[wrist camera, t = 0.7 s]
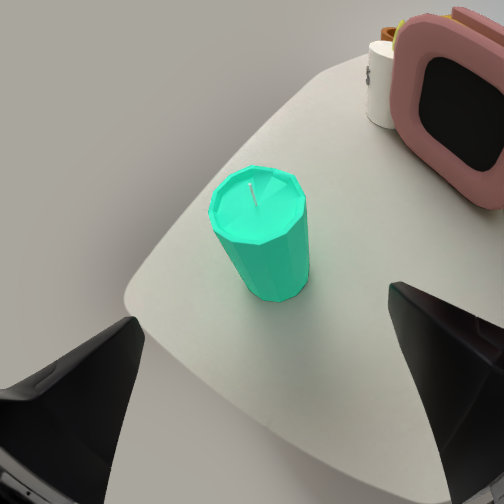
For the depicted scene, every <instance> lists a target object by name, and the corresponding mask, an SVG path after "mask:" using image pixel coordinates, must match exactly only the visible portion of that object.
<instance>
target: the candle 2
mask: <svg viewBox="0 0 504 504" xmlns="http://www.w3.org/2000/svg"><path fill="white" fill-rule="evenodd" d="M404 24H405V21H404V20H401V22H400V23H399V24H398V27H397V28H396V31H395V34H394V38H393V42H390V41H375V42H372V43H371V44H369V66H367V73H366V74H367V79H366V84H367V85H368V93H367V108H366V114H367V117H368V118H369V119H370V120H371V121H372V122H374V123H375V124H377V125H379V126H381V127H384V128H388V129H396V128H395V125H394V122H393V120H392V117H391V114H390V100H389V97H390V89H391V79H392V69H393V56H394V44H395V41H396V37H397V33H398V30H399V29H400V28H401V27H402V26H403V25H404Z"/></svg>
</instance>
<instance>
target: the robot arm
mask: <svg viewBox="0 0 504 504" xmlns="http://www.w3.org/2000/svg"><path fill="white" fill-rule="evenodd" d="M388 310H389V313H390V316H391V319H392V322H393V326H394V329H395V332H396V335H397V339H398V342H399V345H400V348H401V350H402V353H403V355H404V357H405V360H406V362H407V365H408V367H409V369H410V372H411V374H412V377H413V379H414V382H415V384H416V387H417V390H418V392H419V395H420V398H421V400H422V403H423V406H424V408H425V411H426V414H427V417H428V420H429V423H430V426H431V429H432V432H433V435H434V438H435V441H436V444H437V447H438V451H439V453H440V454H439V455H440V458H441V462H442V465H443V469H444V472H445V476H446V480H447V484H448V488H449V492H450V497H451V501H452V504H466V503H468V502H470V501H472V500H474V499H476V498H478V497H480V496H481V495H483V494H485V493H487V492H488V491H490V490H491V493H492V497H493V500H492V501H491V502H489V503H488V504H504V329H503V328H501V327H499V326H496V325H494V324H492V323H490V322H488V321H485V320H483V319H481V318H479V317H476V316H475V315H473V314H471V313H469V312H467V311H465V310H462V309H460V308H458V307H456V306H454V305H452V304H450V303H448V302H445V301H443V300H441V299H439V298H437V297H435V296H432V295H430V294H428V293H426V292H424V291H421V290H419V289H417V288H415V287H413V286H410V285H408V284H406V283H404V282H395V283H391V284H390V285H389V295H388ZM144 341H145V335H144V332H143V330H142V328H141V326H140V324H139V322H138V320H137V318H136V317H134V316H132V317H125V318H123V319H121V320H120V321H118V322H116V323H115V324H114V325H112V326H110V327H108V328H107V329H105V330H104V331H102V332H100V333H99V334H97V335H96V336H94V337H93V338H91V339H89V340H88V341H86V342H84V343H83V344H81V345H80V346H78V347H77V348H75V349H73V350H72V351H70V352H69V353H67V354H65V355H64V356H62V357H61V358H59V359H58V360H56V361H54V362H53V363H52V364H50V365H48V366H47V367H45V368H43V369H42V370H40V371H38V372H36V373H35V374H33V375H31V376H29V377H28V378H26V379H24V380H22V381H20V382H19V383H17V384H15V385H13V386H11V387H9V388H6V389H1V390H0V504H104V500H105V495H106V490H107V485H108V480H109V476H110V472H111V467H112V462H113V458H114V454H115V450H116V446H117V442H118V438H119V435H120V431H121V427H122V424H123V420H124V417H125V413H126V410H127V406H128V403H129V399H130V396H131V393H132V389H133V386H134V383H135V380H136V376H137V373H138V369H139V364H140V359H141V355H142V350H143V346H144Z"/></svg>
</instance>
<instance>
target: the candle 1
mask: <svg viewBox="0 0 504 504" xmlns="http://www.w3.org/2000/svg"><path fill="white" fill-rule="evenodd" d="M208 214H209V218H210V221H211V224H212V227H213V231H214V232H215V234H216V236H217V237H218V239H219V241H220V242H221V244H222V246H223V247H224V249H225V251H226V252H227V254H228V256H229V257H230V259H231V261H232V262H233V264H234V266H235V267H236V269H237V271H238V272H239V274H240V276H241V277H242V279H243V280H244V282H245V284H246V285H247V287H248V289H249V290H250V291H251V292H252V293H254V294H255V295H256V296H258V297H259V298H260V299H262V300H265V301H274V302H282V301H284V300H287V299H289V298H292V297H294V296H296V295H297V294H298V293H299V292H300V291H301V289H302V288H303V287H304V285H305V284H306V283H307V282H308V273H309V245H308V226H307V209H306V196H305V194H304V192H303V190H302V188H301V186H300V185H299V183H298V181H297V179H296V177H295V175H292V174H290V173H287V172H284V171H281V170H278V169H275V168H268V167H261V166H254V165H250V166H248V167H246V168H244V169H241V170H239V171H237V172H235V173H233V174H230V175H229V176H228V177H227V178H226V179H225V180H224V181H223V182H222V183H221V184H220V185H219V186H218V187H217V188H216V189H215V190H214V191H213V195H212V199H211V202H210V206H209V210H208Z"/></svg>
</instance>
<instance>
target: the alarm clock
mask: <svg viewBox="0 0 504 504" xmlns="http://www.w3.org/2000/svg"><path fill="white" fill-rule="evenodd" d="M389 100H390V114H391V117H392V120H393V122H394V125H395V128H396V130H397V132H398V134H399V135H400V137H401V138H402V140H403V141H404V143H405V144H406V145H407V146H408V147H409V148H410V149H411V150H412V151H413V152H414V153H415V154H416V155H417V156H418V157H419V158H421V159H422V160H423V161H424V162H426V163H427V164H428V165H429V166H430V167H432V168H433V169H434V170H435V171H436V172H437V173H439V174H440V175H441V176H442V177H443V178H444V179H446V180H447V181H448V182H449V183H450V184H451V185H452V186H453V187H454V188H455V189H457V190H458V191H459V192H460V193H461V194H462V195H463V196H464V197H466V198H467V199H468V200H470V201H471V202H473V203H474V204H475V205H477V206H480V207H483V208H486V209H489V210H498V209H504V27H503V26H501V25H500V24H498V23H496V22H494V21H492V20H490V19H489V18H487V17H484V16H482V15H480V14H478V13H476V12H474V11H471V10H469V9H467V8H464V7H453V8H452V14H451V15H446V16H437V15H433V14H429V13H427V14H423V15H419V16H415V17H411V18H410V19H409V20H408V21H407V22H406V23H405V24H404V25H403V26H402V27H401V28H400V29H399V30H398V33H397V37H396V41H395V44H394V56H393V69H392V79H391V89H390V97H389Z"/></svg>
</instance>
